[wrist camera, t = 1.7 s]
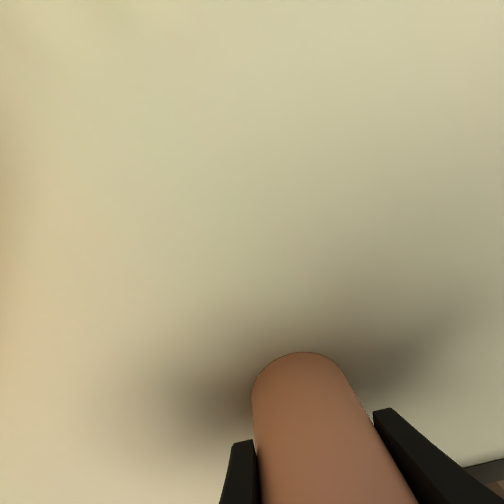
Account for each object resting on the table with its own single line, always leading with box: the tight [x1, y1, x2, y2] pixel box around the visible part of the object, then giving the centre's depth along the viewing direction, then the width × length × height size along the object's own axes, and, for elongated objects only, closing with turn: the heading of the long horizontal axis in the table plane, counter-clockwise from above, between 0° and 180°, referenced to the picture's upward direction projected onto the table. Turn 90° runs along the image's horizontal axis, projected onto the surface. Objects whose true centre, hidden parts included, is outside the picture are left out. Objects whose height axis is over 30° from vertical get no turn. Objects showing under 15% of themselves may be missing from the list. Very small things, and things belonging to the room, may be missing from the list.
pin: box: [251, 352, 419, 504], centre depth 8 cm, size 4×4×8 cm
